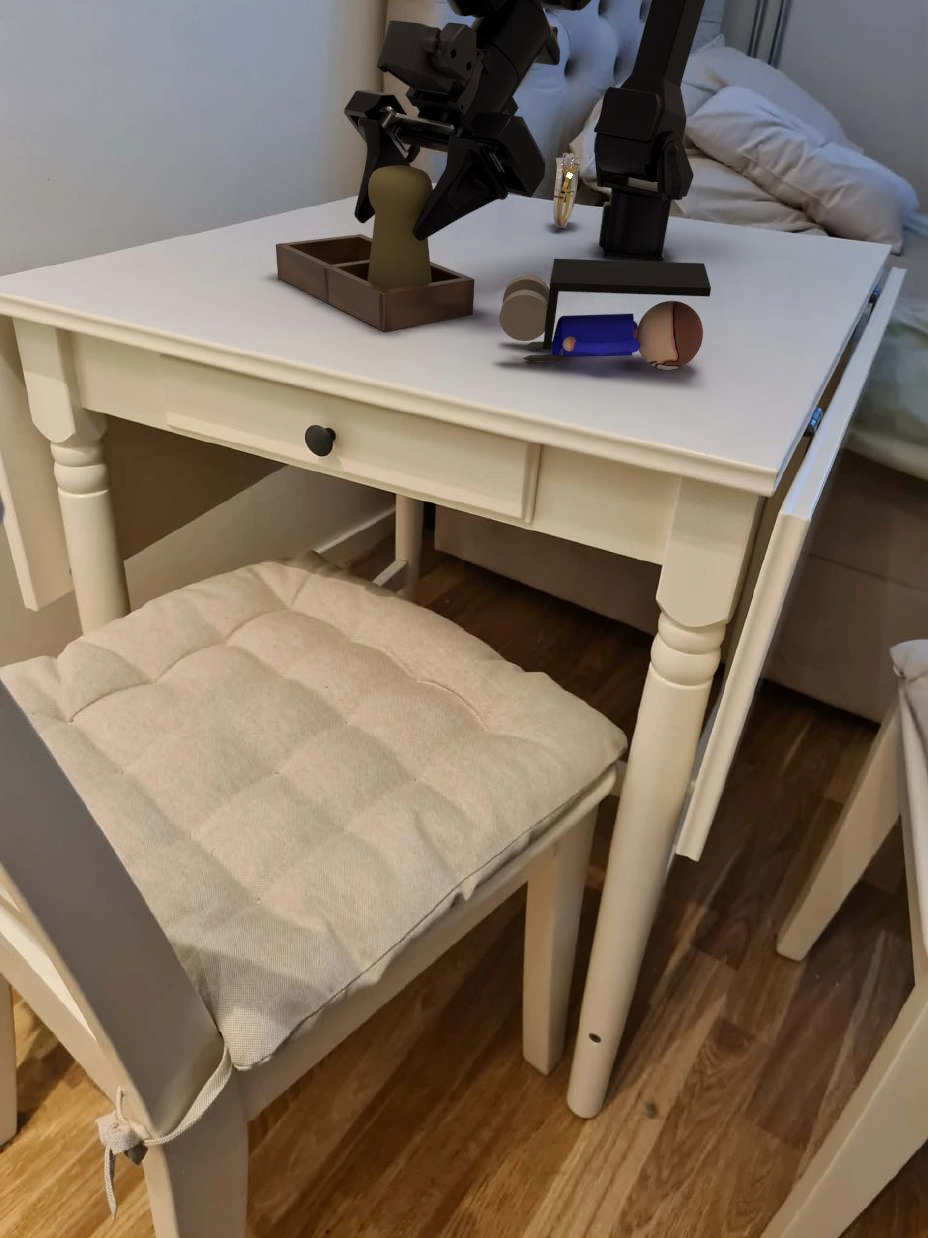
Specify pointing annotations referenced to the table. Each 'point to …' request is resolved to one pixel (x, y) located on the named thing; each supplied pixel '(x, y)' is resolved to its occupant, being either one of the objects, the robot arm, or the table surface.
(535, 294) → the figurine character
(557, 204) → the ring
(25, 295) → the table surface
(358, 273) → the frame
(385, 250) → the cork
